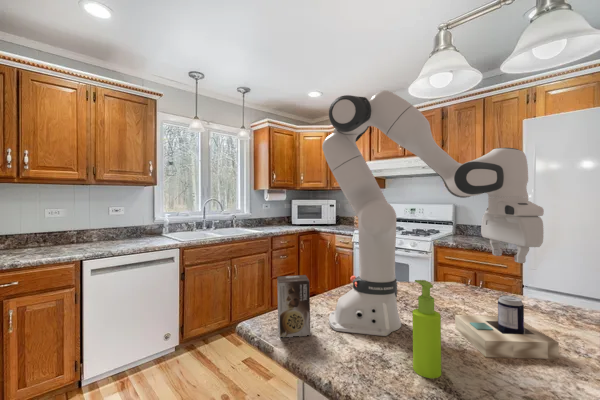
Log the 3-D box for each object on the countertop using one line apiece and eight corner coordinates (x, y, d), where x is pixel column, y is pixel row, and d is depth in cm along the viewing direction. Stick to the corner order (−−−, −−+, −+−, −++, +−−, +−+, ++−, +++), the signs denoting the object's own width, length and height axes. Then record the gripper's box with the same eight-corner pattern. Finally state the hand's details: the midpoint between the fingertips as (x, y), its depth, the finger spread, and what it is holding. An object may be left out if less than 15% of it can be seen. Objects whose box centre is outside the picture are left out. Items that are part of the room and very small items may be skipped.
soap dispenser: (431, 360, 70) (430, 277, 70) (446, 378, 63) (445, 286, 63) (407, 361, 69) (406, 278, 69) (420, 378, 62) (419, 286, 62)
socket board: (485, 357, 71) (485, 339, 71) (455, 328, 87) (455, 313, 87) (558, 358, 70) (558, 341, 70) (514, 329, 86) (514, 314, 86)
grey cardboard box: (306, 326, 89) (306, 274, 89) (310, 336, 83) (310, 280, 83) (277, 328, 88) (276, 275, 88) (279, 338, 81) (278, 281, 81)
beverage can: (529, 348, 75) (528, 302, 75) (504, 346, 76) (504, 301, 76) (516, 338, 80) (516, 295, 80) (494, 336, 81) (493, 294, 81)
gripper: (475, 206, 89) (475, 251, 89) (521, 209, 68) (521, 267, 68) (496, 206, 88) (496, 251, 88) (549, 209, 68) (549, 267, 68)
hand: (507, 258), depth 78 cm, fingers open, 8 cm apart
